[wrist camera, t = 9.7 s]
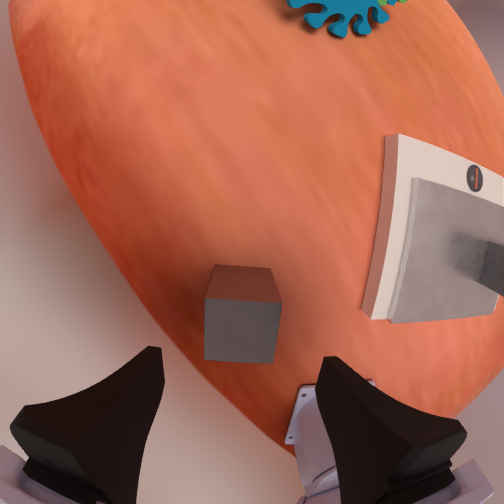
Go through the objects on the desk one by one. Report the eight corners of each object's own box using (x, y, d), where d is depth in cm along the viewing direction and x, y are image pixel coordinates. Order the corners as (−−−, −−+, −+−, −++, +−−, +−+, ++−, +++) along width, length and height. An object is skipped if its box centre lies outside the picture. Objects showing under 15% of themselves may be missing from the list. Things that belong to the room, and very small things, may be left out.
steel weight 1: (264, 317, 21) (272, 363, 15) (213, 313, 21) (204, 359, 15) (270, 268, 20) (282, 302, 14) (215, 264, 20) (204, 297, 14)
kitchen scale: (483, 303, 22) (498, 313, 19) (360, 308, 21) (374, 324, 18) (505, 184, 19) (522, 186, 16) (385, 136, 18) (404, 131, 15)
